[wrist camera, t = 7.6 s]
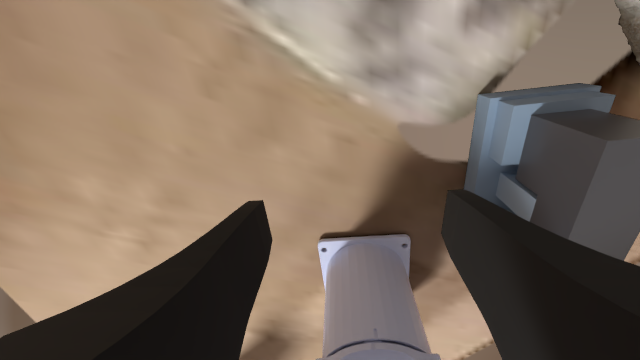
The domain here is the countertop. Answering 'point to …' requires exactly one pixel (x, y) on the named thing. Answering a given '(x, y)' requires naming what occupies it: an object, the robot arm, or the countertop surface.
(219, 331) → the robot arm
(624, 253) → the dark grey rectangular block
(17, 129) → the countertop surface
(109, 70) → the countertop surface
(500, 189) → the display stand
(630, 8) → the washcloth
